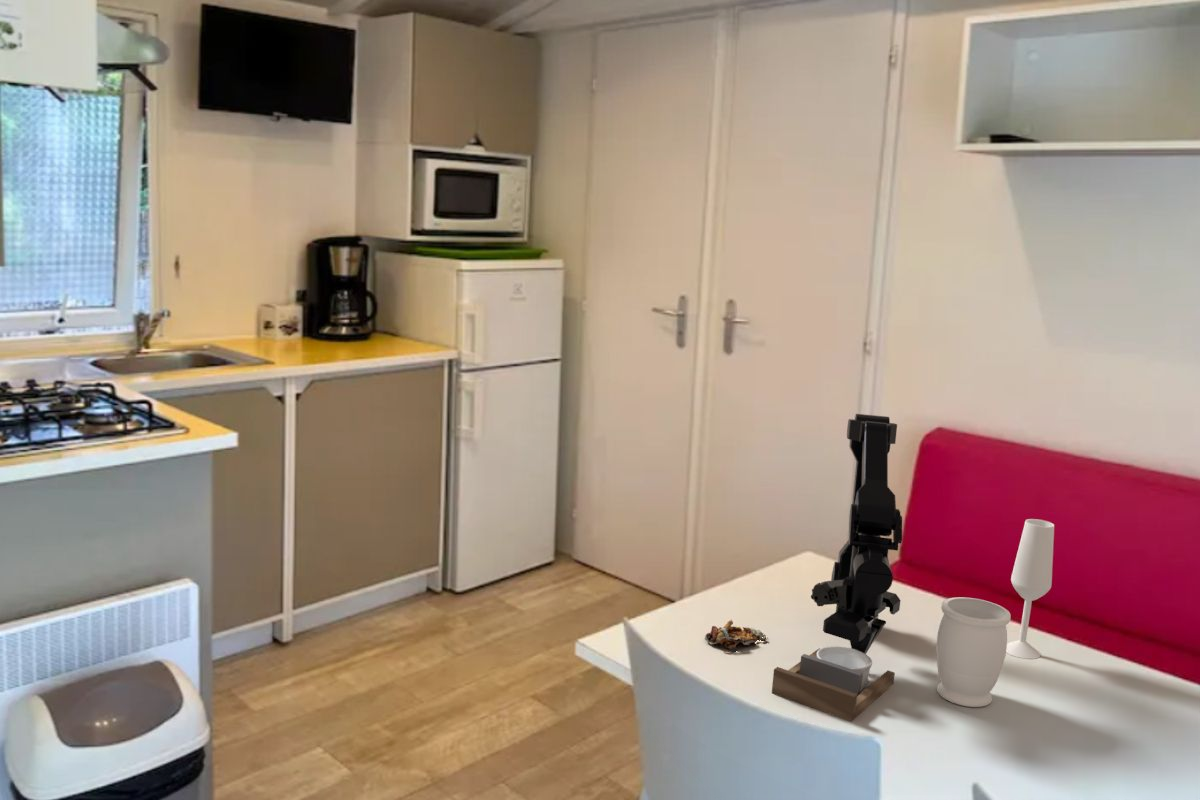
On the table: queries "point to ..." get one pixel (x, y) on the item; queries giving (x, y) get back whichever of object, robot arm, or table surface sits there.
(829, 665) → the block
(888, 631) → the table surface
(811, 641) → the table surface
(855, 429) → the robot arm
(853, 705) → the wooden u-shaped frame
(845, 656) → the ramekin
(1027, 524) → the champagne flute
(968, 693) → the jar
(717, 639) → the grilled meat platter
